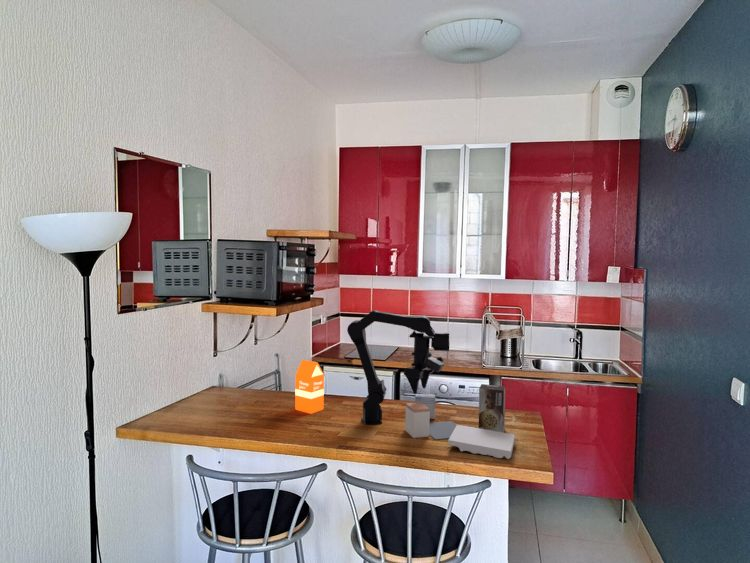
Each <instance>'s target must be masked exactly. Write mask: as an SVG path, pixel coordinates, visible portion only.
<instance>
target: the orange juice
mask: <svg viewBox="0 0 750 563" xmlns="http://www.w3.org/2000/svg"><path fill="white" fill-rule="evenodd" d="M324 376H325V374H324V373H323V370H322V368H321V367H320V364H319V363H318V362H316V361H313V360H306V359H302V360H301V361H300V364H299V365H298V368H297V370H296V373H295V389H294V391H295V392H294V395H295V397H294V398H295V400H294V401H295V404H294V406H295V407H294V409H295V410H296V411H299V412H303V413H305V414H306V413H307V414H310V415H312V414H314V413H317V412H320V411H322V410H324V404H325V401H324V400H325V398H324V394H325V389H324V388H325V386H324V385H325V377H324Z"/></svg>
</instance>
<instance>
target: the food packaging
mask: <svg viewBox="0 0 750 563" xmlns="http://www.w3.org/2000/svg"><path fill="white" fill-rule="evenodd" d="M456 425H457V426H456V427H455V429H454V431H453V433H452V434H451V436H450V438H449V439H447V442H448V443H447V445H448V446H453V447H457V448H458V449H459V451H460V452H465V451H466V452H469V453H471V454H474V455H475V454H480V455H482V456H493V458H496V459H497V458H498V459H502V458H505V459H507V460H510V459H511V458H512V454H513V450H514V449H513V448H514V444H515V439H516V434H513V433H510V432H509V433H507V432H504V433H503V432H497V431H491V430H485V429H479V428H478V427H471V426H467V425H461V424H456Z"/></svg>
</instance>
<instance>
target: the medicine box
mask: <svg viewBox="0 0 750 563" xmlns="http://www.w3.org/2000/svg"><path fill="white" fill-rule="evenodd" d="M417 402H421V403H423V404H424V405H426V406H427V407H428V408H430V419H431V420H435V416H436V413H435V412H436V395H435V394H429V393H417V394H414V403H417Z"/></svg>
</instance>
